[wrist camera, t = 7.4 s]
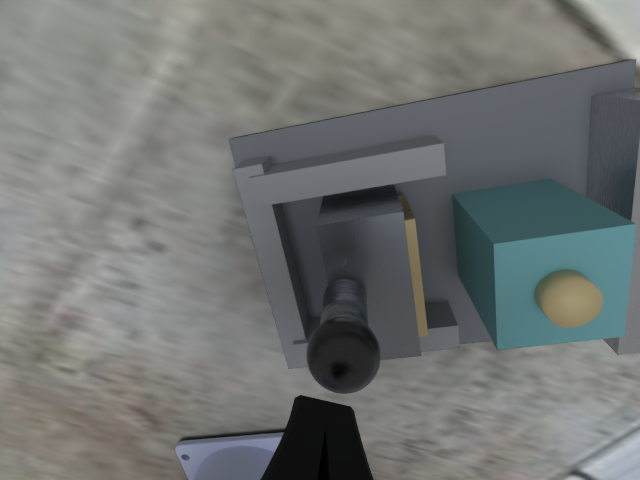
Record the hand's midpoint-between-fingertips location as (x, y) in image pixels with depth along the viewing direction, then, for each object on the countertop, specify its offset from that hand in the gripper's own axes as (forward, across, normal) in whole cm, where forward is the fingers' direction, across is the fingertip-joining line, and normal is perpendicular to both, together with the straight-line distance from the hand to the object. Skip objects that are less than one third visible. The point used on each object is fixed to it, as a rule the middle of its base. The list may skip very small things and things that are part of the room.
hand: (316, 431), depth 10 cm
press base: (+10, -4, -2) cm, 11 cm away
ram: (+10, -2, -1) cm, 10 cm away
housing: (+10, -7, -3) cm, 13 cm away
